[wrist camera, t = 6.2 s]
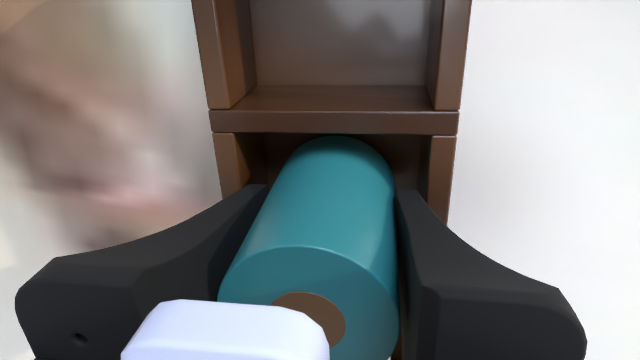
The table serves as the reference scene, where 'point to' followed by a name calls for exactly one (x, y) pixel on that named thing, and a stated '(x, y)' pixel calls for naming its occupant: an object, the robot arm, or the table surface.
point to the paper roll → (327, 248)
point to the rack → (335, 85)
